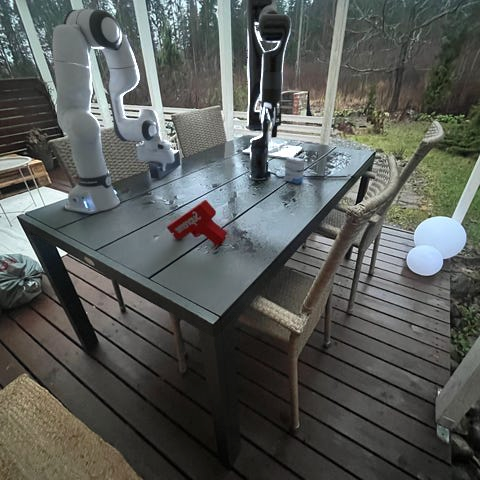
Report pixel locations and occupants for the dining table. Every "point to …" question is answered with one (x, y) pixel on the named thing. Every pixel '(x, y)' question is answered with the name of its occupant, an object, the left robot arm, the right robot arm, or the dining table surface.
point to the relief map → (280, 150)
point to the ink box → (294, 170)
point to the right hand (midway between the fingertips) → (269, 135)
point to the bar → (156, 166)
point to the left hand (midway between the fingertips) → (157, 170)
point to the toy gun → (198, 224)
